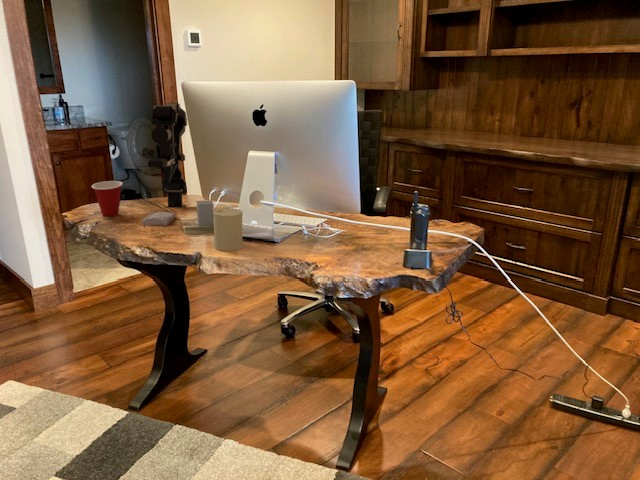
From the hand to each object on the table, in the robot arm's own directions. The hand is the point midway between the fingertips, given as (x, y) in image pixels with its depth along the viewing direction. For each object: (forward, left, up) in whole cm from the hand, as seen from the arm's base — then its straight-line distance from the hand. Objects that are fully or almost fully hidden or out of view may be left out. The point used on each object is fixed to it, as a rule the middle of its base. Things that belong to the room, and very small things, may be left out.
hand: (167, 182), depth 193 cm
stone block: (+11, +1, -14) cm, 17 cm away
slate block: (+13, +20, -12) cm, 27 cm away
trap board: (+10, +18, -13) cm, 24 cm away
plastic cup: (+5, -22, -13) cm, 26 cm away
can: (+27, +34, -13) cm, 45 cm away
